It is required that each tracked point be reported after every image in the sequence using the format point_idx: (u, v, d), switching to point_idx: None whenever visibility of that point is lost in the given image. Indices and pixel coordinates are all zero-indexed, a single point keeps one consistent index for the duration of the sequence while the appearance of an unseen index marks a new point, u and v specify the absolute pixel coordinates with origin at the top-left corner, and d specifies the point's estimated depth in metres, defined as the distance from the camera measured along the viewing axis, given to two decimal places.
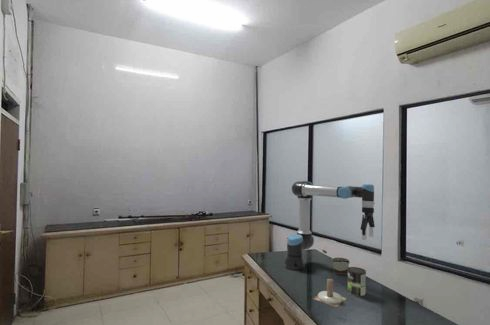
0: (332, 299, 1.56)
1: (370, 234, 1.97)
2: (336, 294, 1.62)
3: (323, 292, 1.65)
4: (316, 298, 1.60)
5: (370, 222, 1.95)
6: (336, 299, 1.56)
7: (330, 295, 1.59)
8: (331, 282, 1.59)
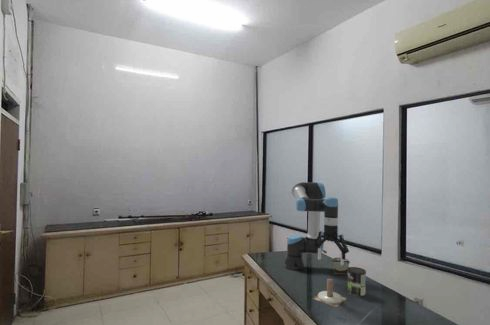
0: (332, 299, 1.56)
1: None
2: (336, 294, 1.62)
3: (323, 292, 1.65)
4: (316, 298, 1.60)
5: None
6: (336, 299, 1.56)
7: (330, 295, 1.59)
8: (331, 282, 1.59)
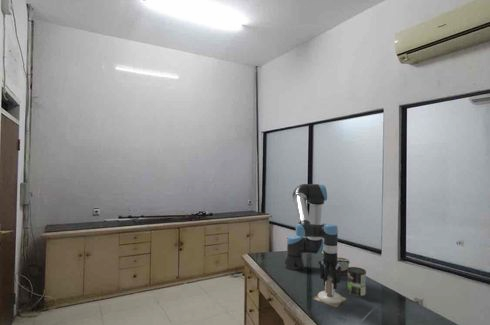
0: (332, 299, 1.56)
1: None
2: (336, 294, 1.62)
3: (323, 292, 1.65)
4: (316, 298, 1.60)
5: None
6: (336, 299, 1.56)
7: (330, 295, 1.59)
8: (331, 282, 1.59)
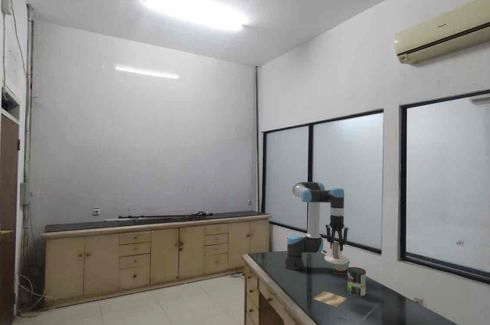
0: (338, 260, 1.58)
1: None
2: (342, 257, 1.65)
3: (330, 255, 1.67)
4: (316, 298, 1.60)
5: None
6: (342, 260, 1.58)
7: (336, 257, 1.61)
8: (337, 244, 1.61)
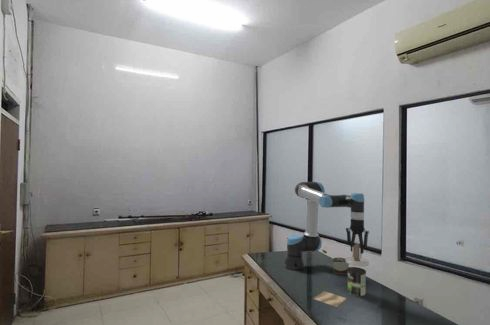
0: (360, 262, 1.65)
1: None
2: (362, 259, 1.71)
3: (350, 257, 1.74)
4: (316, 298, 1.60)
5: None
6: (363, 262, 1.65)
7: (357, 259, 1.68)
8: (358, 247, 1.68)
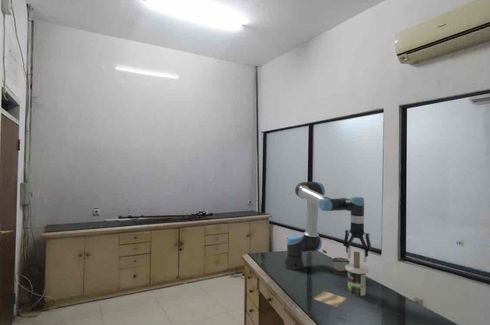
0: (359, 270, 1.65)
1: None
2: (362, 266, 1.71)
3: (349, 264, 1.74)
4: (316, 298, 1.60)
5: None
6: (363, 270, 1.65)
7: (357, 266, 1.68)
8: (358, 254, 1.68)
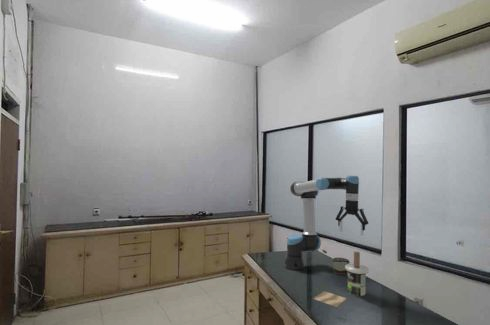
0: (359, 270, 1.65)
1: None
2: (362, 266, 1.72)
3: (349, 264, 1.74)
4: (316, 298, 1.60)
5: None
6: (363, 270, 1.65)
7: (357, 266, 1.68)
8: (358, 254, 1.68)
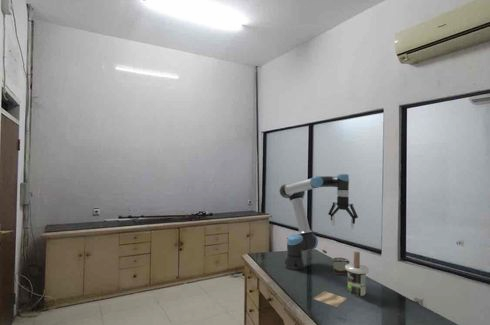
0: (359, 270, 1.65)
1: None
2: (362, 266, 1.72)
3: (349, 264, 1.74)
4: (316, 298, 1.60)
5: None
6: (363, 270, 1.65)
7: (357, 266, 1.68)
8: (358, 254, 1.68)
